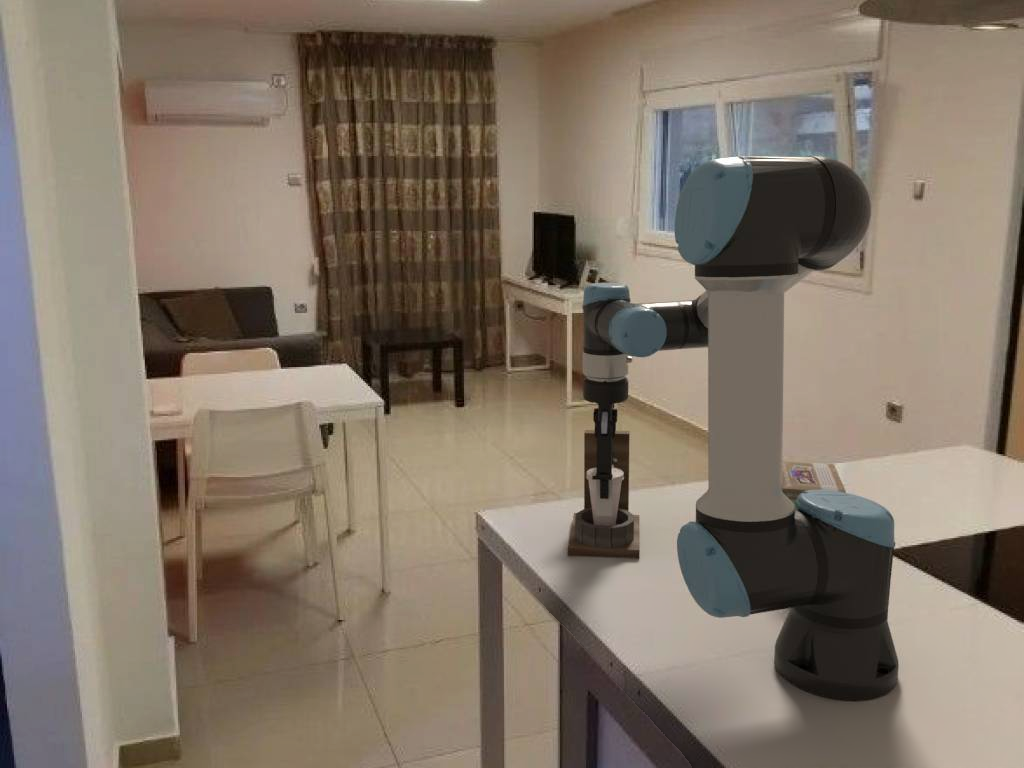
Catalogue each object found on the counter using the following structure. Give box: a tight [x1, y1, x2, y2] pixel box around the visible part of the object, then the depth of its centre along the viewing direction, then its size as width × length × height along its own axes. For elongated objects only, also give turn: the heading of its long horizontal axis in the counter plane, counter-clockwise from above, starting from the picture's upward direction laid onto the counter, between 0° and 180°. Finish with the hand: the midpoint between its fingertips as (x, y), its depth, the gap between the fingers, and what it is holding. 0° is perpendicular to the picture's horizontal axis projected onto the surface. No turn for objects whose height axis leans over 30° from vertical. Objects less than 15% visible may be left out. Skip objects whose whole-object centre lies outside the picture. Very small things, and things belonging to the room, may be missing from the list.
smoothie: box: [586, 467, 624, 526], centre depth 158 cm, size 6×6×14 cm
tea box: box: [782, 461, 847, 509], centre depth 152 cm, size 15×10×15 cm, turn 168°
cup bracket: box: [567, 429, 641, 559], centre depth 161 cm, size 16×12×18 cm
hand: (604, 507), depth 159 cm, fingers closed on smoothie, 6 cm apart
